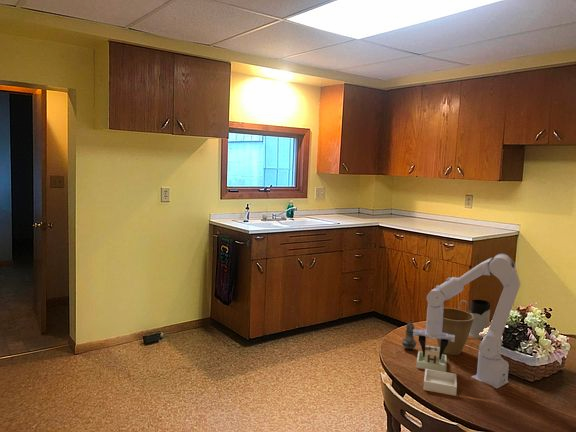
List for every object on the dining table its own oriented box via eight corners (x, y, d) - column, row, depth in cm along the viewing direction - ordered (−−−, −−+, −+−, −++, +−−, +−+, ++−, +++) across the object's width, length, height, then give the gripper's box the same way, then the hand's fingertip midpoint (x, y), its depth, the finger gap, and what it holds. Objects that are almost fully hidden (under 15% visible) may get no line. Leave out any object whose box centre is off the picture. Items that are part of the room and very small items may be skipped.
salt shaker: (416, 353, 182) (418, 324, 181) (401, 352, 183) (403, 322, 182) (415, 348, 188) (417, 319, 186) (400, 346, 189) (402, 318, 188)
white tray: (455, 382, 159) (456, 373, 159) (456, 395, 150) (456, 386, 149) (424, 376, 163) (425, 368, 162) (423, 389, 153) (423, 381, 153)
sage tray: (445, 362, 175) (446, 355, 174) (445, 374, 165) (446, 366, 165) (417, 358, 178) (418, 350, 178) (416, 369, 168) (416, 361, 168)
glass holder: (483, 340, 199) (486, 306, 197) (452, 330, 209) (455, 298, 207) (492, 335, 205) (495, 302, 203) (462, 326, 215) (464, 295, 213)
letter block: (424, 360, 175) (425, 344, 174) (438, 362, 173) (439, 346, 172) (424, 366, 170) (425, 349, 169) (438, 368, 168) (439, 352, 167)
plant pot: (423, 351, 185) (426, 312, 183) (443, 342, 195) (445, 305, 193) (458, 364, 174) (461, 322, 172) (477, 354, 184) (480, 315, 182)
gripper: (413, 322, 168) (410, 357, 170) (455, 327, 163) (452, 364, 165) (414, 316, 175) (412, 350, 176) (455, 321, 170) (452, 357, 172)
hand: (431, 357), depth 171 cm, fingers closed on letter block, 5 cm apart
